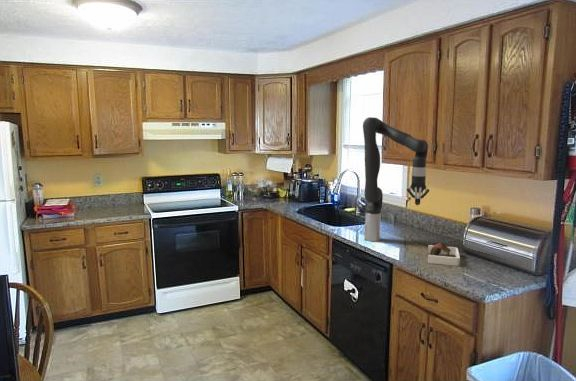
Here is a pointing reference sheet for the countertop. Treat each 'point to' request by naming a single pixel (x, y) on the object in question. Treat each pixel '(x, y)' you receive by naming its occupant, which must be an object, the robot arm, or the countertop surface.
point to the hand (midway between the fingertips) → (417, 204)
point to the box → (445, 260)
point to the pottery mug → (439, 249)
